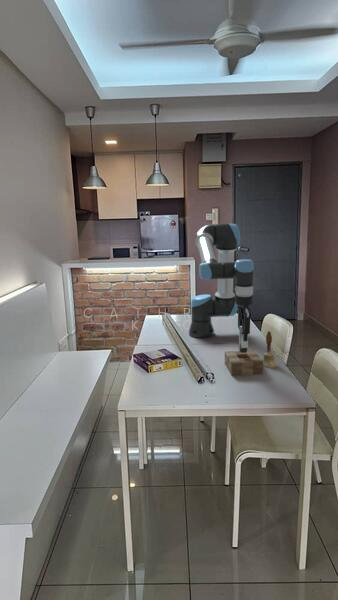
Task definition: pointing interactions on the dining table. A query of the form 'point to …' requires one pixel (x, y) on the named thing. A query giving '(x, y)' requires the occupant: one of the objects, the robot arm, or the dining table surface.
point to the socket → (243, 363)
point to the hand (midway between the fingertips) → (243, 345)
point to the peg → (241, 342)
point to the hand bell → (269, 354)
